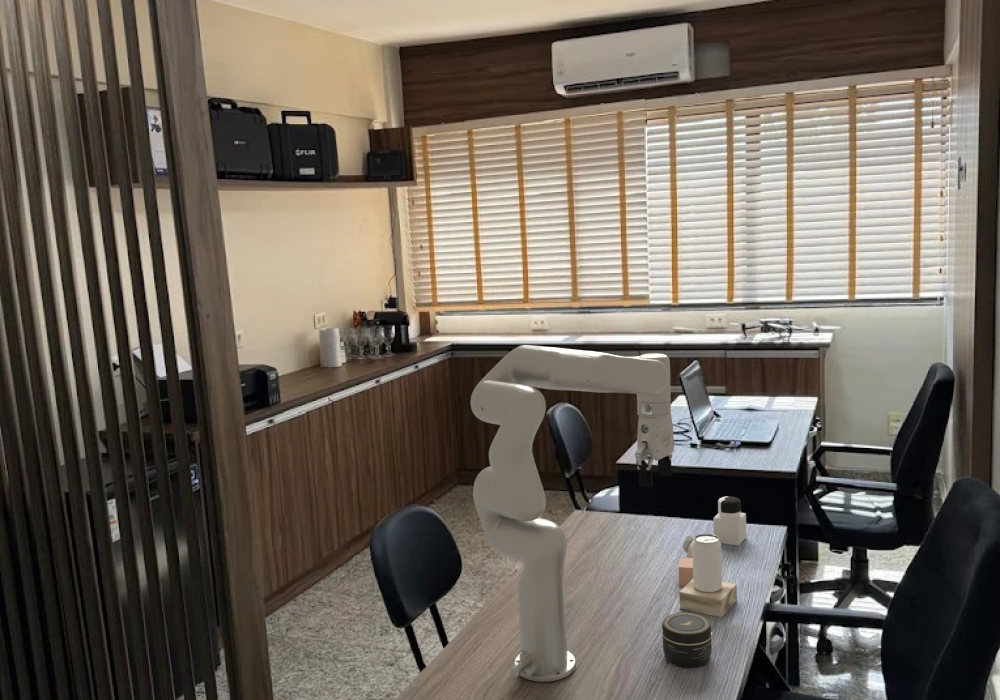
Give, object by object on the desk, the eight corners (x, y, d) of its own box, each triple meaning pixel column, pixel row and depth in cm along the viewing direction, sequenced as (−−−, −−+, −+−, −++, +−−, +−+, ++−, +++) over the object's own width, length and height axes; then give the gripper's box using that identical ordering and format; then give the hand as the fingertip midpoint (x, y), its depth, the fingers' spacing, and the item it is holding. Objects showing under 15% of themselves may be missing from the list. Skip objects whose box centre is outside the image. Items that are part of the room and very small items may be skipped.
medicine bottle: (746, 537, 236) (745, 496, 235) (739, 546, 231) (738, 504, 229) (721, 533, 240) (720, 493, 238) (713, 542, 234) (712, 500, 233)
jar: (721, 656, 175) (721, 621, 173) (694, 675, 168) (693, 639, 167) (681, 640, 182) (680, 607, 181) (652, 659, 175) (651, 624, 174)
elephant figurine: (723, 561, 221) (723, 535, 220) (704, 573, 215) (704, 547, 213) (697, 554, 227) (697, 529, 226) (678, 566, 220) (677, 540, 219)
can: (688, 584, 200) (687, 535, 198) (713, 579, 201) (711, 531, 200) (702, 595, 194) (701, 545, 192) (727, 590, 195) (726, 540, 194)
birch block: (721, 617, 191) (721, 600, 190) (679, 608, 197) (679, 591, 196) (736, 599, 199) (736, 583, 198) (696, 591, 205) (695, 575, 204)
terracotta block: (704, 587, 207) (703, 568, 206) (679, 586, 209) (678, 567, 208) (705, 577, 213) (704, 558, 212) (680, 576, 214) (680, 557, 213)
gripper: (651, 416, 184) (653, 493, 187) (685, 402, 198) (686, 473, 200) (621, 413, 189) (623, 488, 191) (655, 399, 202) (657, 469, 205)
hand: (655, 480), depth 196 cm, fingers open, 9 cm apart
